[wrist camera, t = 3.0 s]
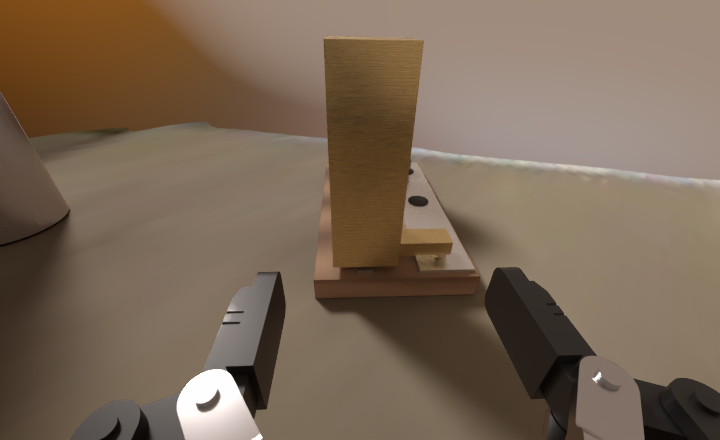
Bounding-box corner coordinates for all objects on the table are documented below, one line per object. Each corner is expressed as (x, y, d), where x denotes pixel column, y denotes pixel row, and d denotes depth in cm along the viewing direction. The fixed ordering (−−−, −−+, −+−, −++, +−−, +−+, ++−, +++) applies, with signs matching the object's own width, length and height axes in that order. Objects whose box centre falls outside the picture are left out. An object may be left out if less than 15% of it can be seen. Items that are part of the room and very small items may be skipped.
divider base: (474, 294, 25) (549, 61, 15) (315, 298, 24) (293, 57, 15) (416, 175, 44) (434, 40, 35) (327, 176, 43) (320, 38, 34)
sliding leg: (454, 266, 24) (511, 42, 15) (333, 269, 23) (323, 38, 15) (440, 236, 27) (480, 38, 19) (334, 238, 26) (327, 36, 18)
